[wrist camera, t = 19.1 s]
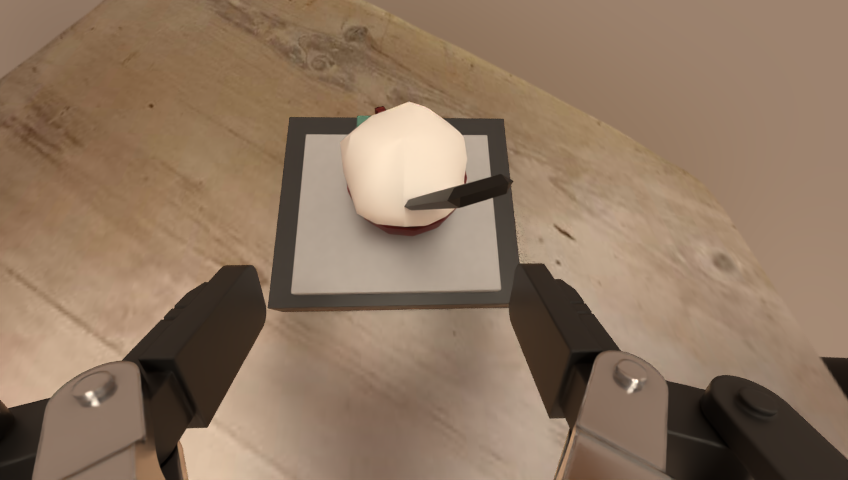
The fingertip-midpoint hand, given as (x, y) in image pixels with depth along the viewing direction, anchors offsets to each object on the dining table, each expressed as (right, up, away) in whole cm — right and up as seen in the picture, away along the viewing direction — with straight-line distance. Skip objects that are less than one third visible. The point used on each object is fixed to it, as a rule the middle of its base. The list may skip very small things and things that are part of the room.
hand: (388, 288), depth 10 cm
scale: (-1, +3, +13) cm, 14 cm away
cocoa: (0, +3, +10) cm, 11 cm away
